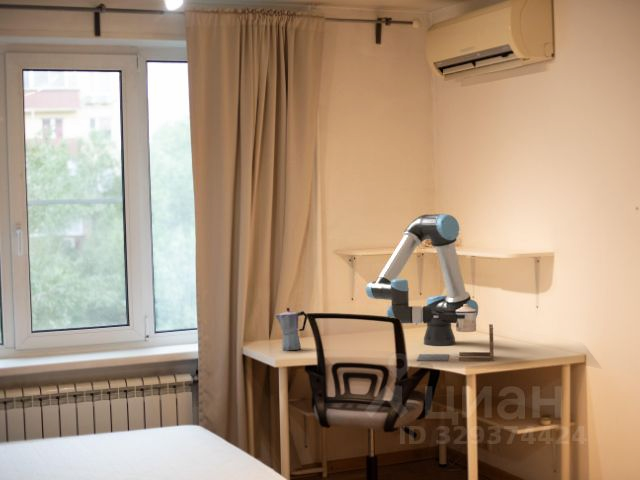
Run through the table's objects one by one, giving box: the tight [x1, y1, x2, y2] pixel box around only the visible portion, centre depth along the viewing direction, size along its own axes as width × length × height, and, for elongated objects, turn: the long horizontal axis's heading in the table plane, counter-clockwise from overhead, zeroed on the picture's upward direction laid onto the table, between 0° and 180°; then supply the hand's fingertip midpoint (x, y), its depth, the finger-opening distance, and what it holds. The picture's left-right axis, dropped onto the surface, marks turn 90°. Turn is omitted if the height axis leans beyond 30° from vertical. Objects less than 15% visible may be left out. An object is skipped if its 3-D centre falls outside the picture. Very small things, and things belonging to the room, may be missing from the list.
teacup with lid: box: [455, 304, 477, 333], centre depth 372 cm, size 12×9×12 cm
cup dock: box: [458, 323, 495, 362], centre depth 372 cm, size 13×15×14 cm
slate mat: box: [416, 353, 449, 362], centre depth 375 cm, size 14×13×1 cm
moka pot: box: [275, 307, 308, 352], centre depth 409 cm, size 10×15×20 cm, turn 95°
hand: (472, 314), depth 371 cm, fingers closed on teacup with lid, 12 cm apart
